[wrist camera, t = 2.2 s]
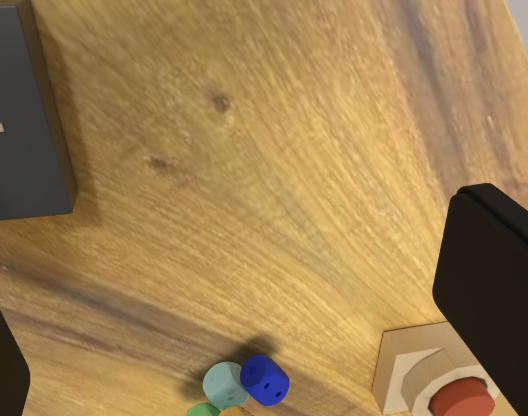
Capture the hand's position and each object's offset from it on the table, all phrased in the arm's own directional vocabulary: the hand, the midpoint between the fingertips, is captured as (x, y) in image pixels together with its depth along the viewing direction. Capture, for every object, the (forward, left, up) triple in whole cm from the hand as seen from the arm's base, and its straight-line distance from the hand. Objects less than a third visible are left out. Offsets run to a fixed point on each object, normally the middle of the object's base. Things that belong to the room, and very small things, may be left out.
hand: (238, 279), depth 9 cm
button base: (+17, -23, -14) cm, 32 cm away
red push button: (+17, -23, -11) cm, 30 cm away
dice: (+1, -21, -14) cm, 25 cm away
